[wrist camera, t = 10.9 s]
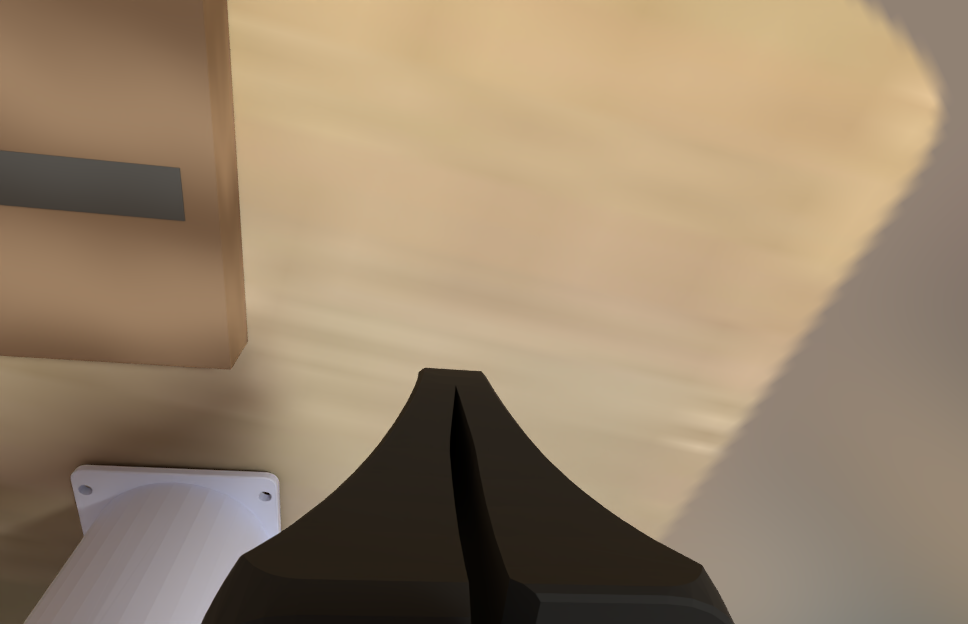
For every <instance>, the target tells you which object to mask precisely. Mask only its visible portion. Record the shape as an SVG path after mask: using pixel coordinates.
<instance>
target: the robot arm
mask: <svg viewBox="0 0 968 624" xmlns="http://www.w3.org/2000/svg"><path fill="white" fill-rule="evenodd" d="M71 483H72V488H73V492H74V496H75V500H76V505H77V509H78V513H79V517H80V522H81V526H82V530H83V535H84V537H83V538H82V540H81V541H80V543H79V544H78V546H77V547H76V549H75V550H74V551H73V553H72V554H71V556H70V557H69V559H68V560H67V561H66V563H65V564H64V566H63V567H62V569H61V570H60V571H59V573H58V574H57V576H56V577H55V579H54V580H53V581H52V583H51V584H50V586H49V587H48V589H47V590H46V591H45V593H44V594H43V596H42V597H41V599H40V600H39V601H38V603H37V604H36V606H35V607H34V609H33V610H32V611H31V613H30V614H29V616H28V617H27V619H26V620H25V621H24V623H23V624H734V622H733V620H732V618H731V616H730V614H729V612H728V610H727V608H726V606H725V604H724V602H723V600H722V598H721V596H720V594H719V592H718V590H717V589H716V587H715V586H714V584H713V583H712V581H711V579H710V578H709V576H708V574H707V573H706V571H705V569H704V567H703V566H702V565H701V564H699V563H697V562H695V561H693V560H691V559H689V558H688V557H685V556H684V555H682V554H680V553H678V552H676V551H674V550H672V549H671V548H669V547H667V546H665V545H663V544H661V543H659V542H657V541H656V540H654V539H652V538H650V537H649V536H647V535H645V534H644V533H642V532H641V531H639V530H637V529H636V528H634V527H633V526H631V525H630V524H628V523H626V522H625V521H623V520H622V519H620V518H619V517H617V516H616V515H614V514H613V513H612V512H610V511H609V510H607V509H606V508H604V507H603V506H602V505H601V504H599V503H598V502H597V501H595V500H594V499H593V498H591V497H590V496H589V495H588V494H586V493H585V492H584V491H582V490H581V489H580V488H579V487H578V486H576V485H575V484H574V483H573V482H572V481H570V480H569V479H568V478H567V477H566V476H565V475H564V474H563V473H562V472H561V471H560V470H559V469H558V468H556V467H555V466H554V465H553V464H552V463H551V462H550V461H549V460H548V459H547V458H546V457H545V456H544V455H543V454H542V453H541V451H540V450H539V449H538V448H537V447H536V446H535V445H534V443H533V442H532V441H531V440H530V439H529V438H528V436H527V435H526V434H525V433H524V431H523V430H522V429H521V428H520V426H519V425H518V424H517V422H516V421H515V420H514V418H513V417H512V416H511V414H510V413H509V412H508V410H507V409H506V407H505V406H504V404H503V403H502V402H501V400H500V399H499V397H498V396H497V394H496V392H495V391H494V389H493V388H492V386H491V384H490V383H489V381H488V380H487V378H486V376H485V375H484V374H483V373H482V371H467V370H451V369H435V368H424V369H422V370H421V371H420V372H419V374H418V379H417V382H416V384H415V387H414V389H413V391H412V393H411V395H410V397H409V399H408V401H407V403H406V405H405V406H404V408H403V410H402V411H401V413H400V415H399V416H398V418H397V419H396V421H395V423H394V424H393V425H392V427H391V428H390V429H389V431H388V432H387V434H386V435H385V436H384V438H383V439H382V441H381V442H380V443H379V445H378V446H377V447H376V448H375V449H374V451H373V452H372V453H371V454H370V455H369V457H368V458H367V459H366V460H365V461H364V462H363V463H362V464H361V465H360V466H359V468H358V469H357V470H356V471H355V472H354V473H353V474H352V475H351V476H350V477H349V478H348V479H347V480H346V481H344V482H343V483H342V484H341V485H340V486H339V487H338V488H337V489H336V490H335V491H334V492H333V493H332V494H330V495H329V496H328V497H327V498H326V499H325V500H323V501H322V502H321V503H320V504H318V505H317V506H316V507H314V508H313V509H312V510H310V511H309V512H308V513H307V514H305V515H304V516H303V517H301V518H300V519H299V520H297V521H296V522H295V523H294V524H292V525H291V526H289V527H288V528H286V529H285V530H283V531H282V532H281V517H280V492H279V480H278V478H277V477H276V476H275V475H274V474H272V473H268V472H249V471H225V470H200V469H176V468H151V467H127V466H102V465H81V466H79V467H77V468H76V469H75V470H74V472H73V473H72V474H71ZM85 485H87V486H89V487H91V488H88V487H87V486H85ZM262 492H268V493H270V495H266V494H264V493H262Z"/></svg>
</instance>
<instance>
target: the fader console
mask: <svg viewBox="0 0 968 624" xmlns="http://www.w3.org/2000/svg"><path fill="white" fill-rule="evenodd" d="M247 342H248V337H247V321H246V304H245V288H244V272H243V255H242V239H241V223H240V206H239V190H238V173H237V157H236V141H235V124H234V108H233V92H232V75H231V59H230V43H229V26H228V10H227V0H0V355H1V356H18V357H34V358H51V359H67V360H84V361H101V362H117V363H134V364H150V365H167V366H183V367H200V368H217V369H231V368H232V367H233V365H234V363H235V362H236V360H237V359H238V357H239V355H240V354H241V352H242V350H243V349H244V347H245V345H246V344H247Z"/></svg>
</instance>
